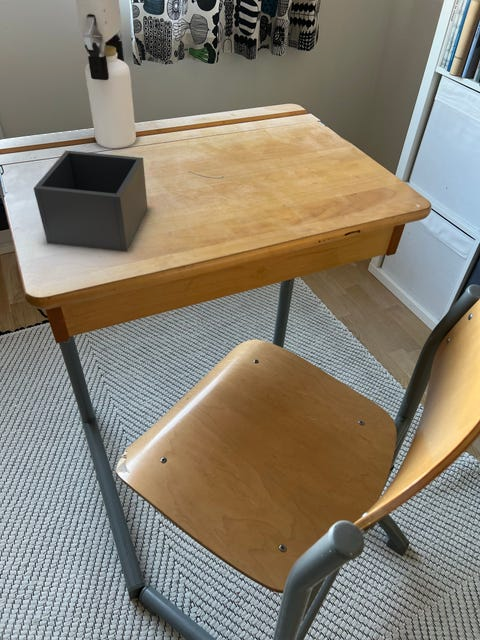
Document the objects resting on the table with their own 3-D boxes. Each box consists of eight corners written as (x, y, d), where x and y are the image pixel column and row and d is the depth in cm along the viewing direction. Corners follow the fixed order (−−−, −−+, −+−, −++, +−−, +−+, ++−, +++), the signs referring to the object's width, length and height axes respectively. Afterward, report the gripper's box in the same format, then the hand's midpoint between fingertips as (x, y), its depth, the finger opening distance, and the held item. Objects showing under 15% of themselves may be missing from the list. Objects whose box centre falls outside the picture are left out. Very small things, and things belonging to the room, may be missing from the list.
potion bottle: (139, 135, 110) (131, 43, 98) (132, 152, 104) (122, 56, 92) (101, 133, 110) (88, 41, 98) (91, 149, 104) (76, 53, 92)
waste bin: (47, 245, 79) (33, 188, 73) (76, 204, 88) (65, 150, 82) (127, 254, 78) (120, 196, 72) (148, 211, 88) (143, 157, 81)
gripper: (89, -47, 93) (103, 56, 104) (52, -30, 80) (73, 84, 92) (130, -44, 92) (139, 58, 104) (99, -27, 80) (114, 87, 91)
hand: (108, 70), depth 98 cm, fingers open, 9 cm apart
